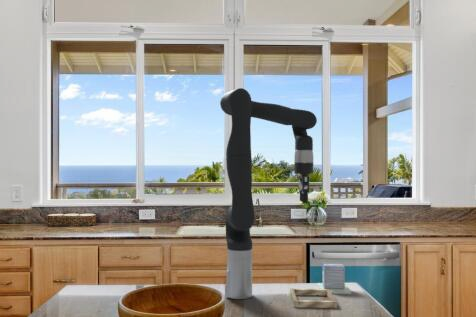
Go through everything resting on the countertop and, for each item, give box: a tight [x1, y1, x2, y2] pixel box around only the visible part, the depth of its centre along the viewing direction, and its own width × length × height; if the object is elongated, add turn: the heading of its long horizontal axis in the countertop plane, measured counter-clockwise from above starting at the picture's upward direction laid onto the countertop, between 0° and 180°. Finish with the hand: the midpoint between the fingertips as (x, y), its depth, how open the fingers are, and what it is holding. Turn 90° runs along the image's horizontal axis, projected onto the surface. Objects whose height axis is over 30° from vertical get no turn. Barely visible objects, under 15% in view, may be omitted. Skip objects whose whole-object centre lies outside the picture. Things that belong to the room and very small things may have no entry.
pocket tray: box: [289, 288, 338, 309], centre depth 147 cm, size 14×14×2 cm
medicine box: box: [321, 263, 346, 289], centre depth 160 cm, size 8×4×9 cm, turn 87°
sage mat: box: [316, 282, 352, 295], centre depth 160 cm, size 11×11×1 cm
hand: (303, 202), depth 166 cm, fingers open, 8 cm apart
